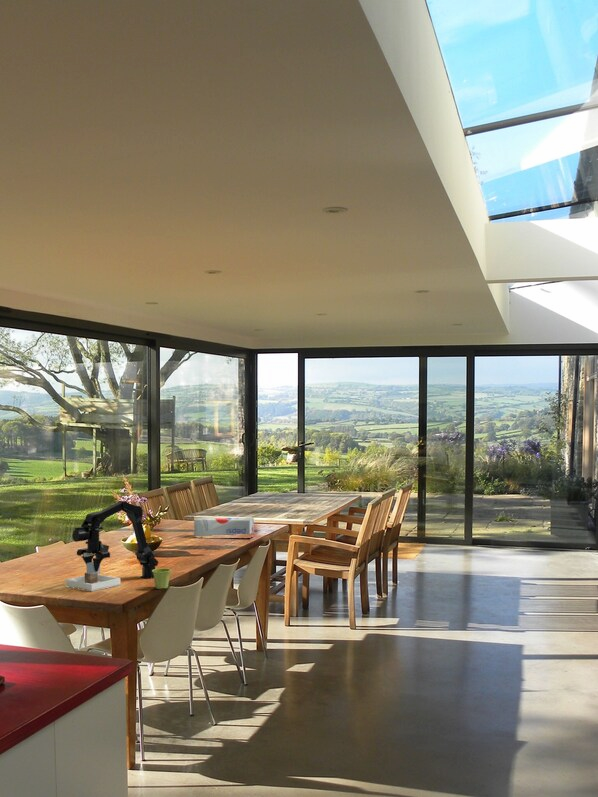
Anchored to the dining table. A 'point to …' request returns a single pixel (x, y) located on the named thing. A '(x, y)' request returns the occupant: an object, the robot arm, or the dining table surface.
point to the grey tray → (101, 584)
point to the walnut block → (91, 578)
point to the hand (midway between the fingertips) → (93, 571)
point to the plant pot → (161, 577)
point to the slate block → (92, 568)
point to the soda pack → (223, 526)
